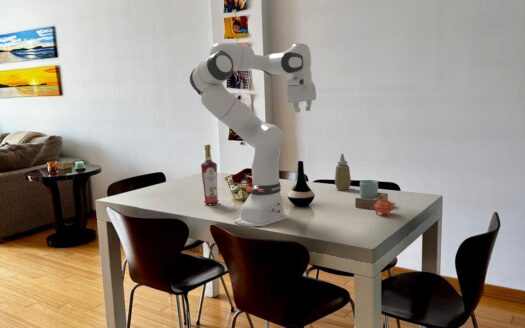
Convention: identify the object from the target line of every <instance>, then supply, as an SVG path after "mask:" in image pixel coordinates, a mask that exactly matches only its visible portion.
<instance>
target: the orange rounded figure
mask: <svg viewBox="0 0 525 328" xmlns="http://www.w3.org/2000/svg"><path fill="white" fill-rule="evenodd" d="M374 208H375V214H376V215H378V213H380V214H386V215H387V217H389V216H390V214H391V213H390V212H392V211H393V210H394V209H395V205H394V204H393V203H392V202H391V201H390V200H389V199H388V200H386V199H383V200H379V201H378V202H377V203H376V204H375V205H374Z"/></svg>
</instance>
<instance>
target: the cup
mask: <svg viewBox="0 0 525 328" xmlns="http://www.w3.org/2000/svg"><path fill="white" fill-rule="evenodd" d="M378 192H379V182H378V180H375V179H374V180H373V179H363V180H360V181H359V196H360V197H359V198H365V199H373V198H375V197H377V196H378Z"/></svg>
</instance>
